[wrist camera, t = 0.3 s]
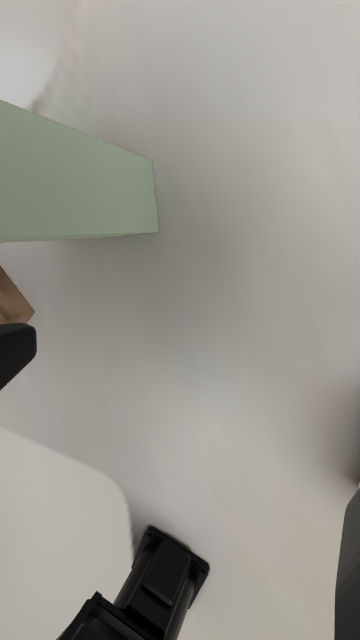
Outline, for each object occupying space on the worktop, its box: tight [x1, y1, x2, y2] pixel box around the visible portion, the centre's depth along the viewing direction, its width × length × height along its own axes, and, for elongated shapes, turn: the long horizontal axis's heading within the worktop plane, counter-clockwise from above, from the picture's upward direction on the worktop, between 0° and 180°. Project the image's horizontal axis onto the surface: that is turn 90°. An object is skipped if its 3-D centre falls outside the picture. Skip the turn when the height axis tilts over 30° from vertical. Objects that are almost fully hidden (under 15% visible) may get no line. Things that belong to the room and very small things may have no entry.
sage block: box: [0, 100, 159, 243], centre depth 17 cm, size 5×5×13 cm
